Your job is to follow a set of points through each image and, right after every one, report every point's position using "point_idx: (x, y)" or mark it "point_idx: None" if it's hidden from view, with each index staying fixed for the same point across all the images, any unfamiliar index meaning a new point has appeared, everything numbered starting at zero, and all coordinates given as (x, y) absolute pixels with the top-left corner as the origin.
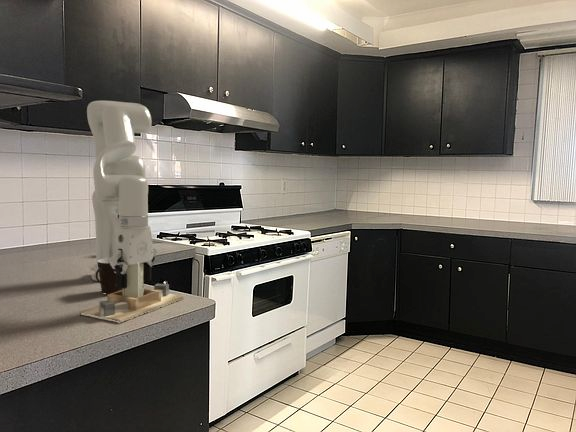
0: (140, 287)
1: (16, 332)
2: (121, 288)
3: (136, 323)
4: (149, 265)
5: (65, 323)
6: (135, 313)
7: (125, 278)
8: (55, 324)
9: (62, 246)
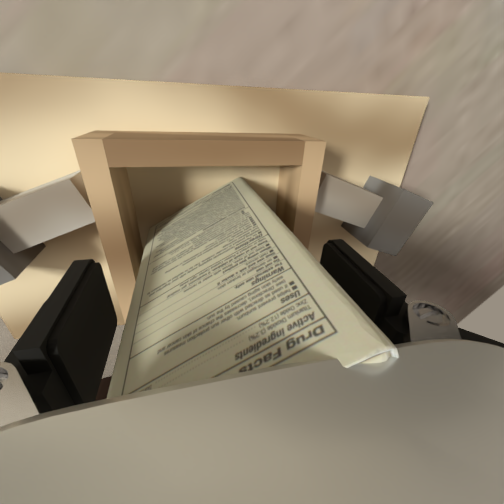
0: (216, 226)
1: (485, 286)
2: (105, 393)
3: (403, 22)
4: (24, 380)
5: (424, 258)
6: (338, 99)
7: (380, 272)
8: (433, 270)
9: None
